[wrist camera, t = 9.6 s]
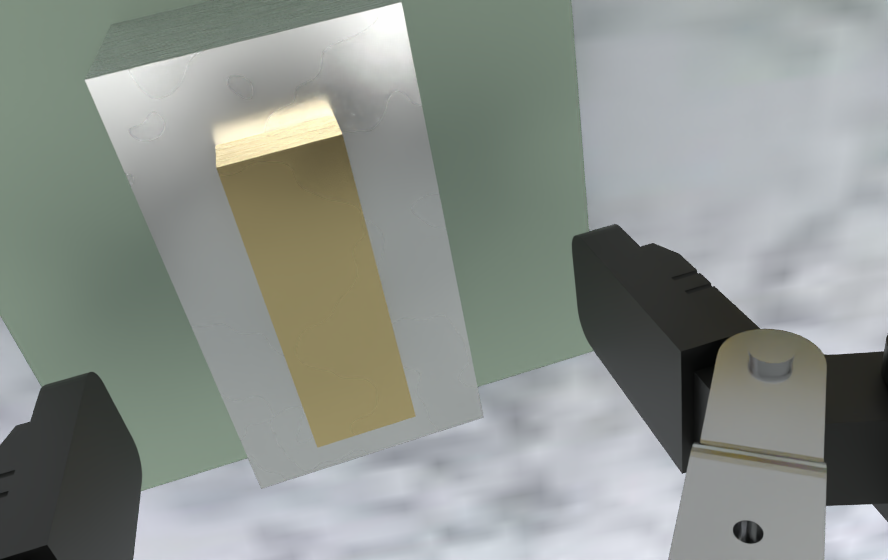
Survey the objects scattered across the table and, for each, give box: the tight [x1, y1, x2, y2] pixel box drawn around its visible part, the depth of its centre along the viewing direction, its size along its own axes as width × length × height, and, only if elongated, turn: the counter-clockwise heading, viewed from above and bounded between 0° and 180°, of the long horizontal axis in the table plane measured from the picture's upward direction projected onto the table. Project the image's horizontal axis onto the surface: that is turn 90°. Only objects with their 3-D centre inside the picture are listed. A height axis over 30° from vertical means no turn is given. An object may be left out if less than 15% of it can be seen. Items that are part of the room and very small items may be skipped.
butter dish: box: [85, 0, 483, 489], centre depth 16 cm, size 5×9×5 cm, turn 10°
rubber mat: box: [0, 0, 594, 491], centre depth 18 cm, size 14×14×1 cm
